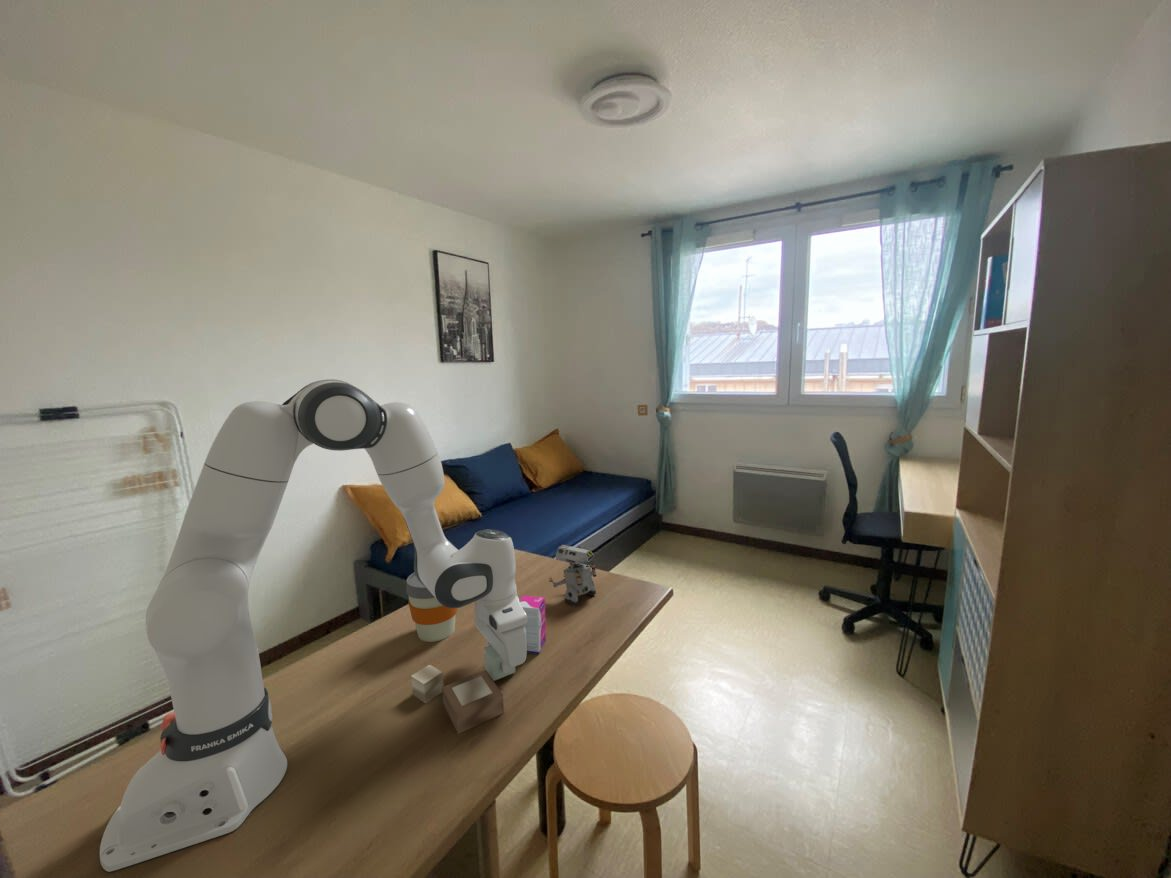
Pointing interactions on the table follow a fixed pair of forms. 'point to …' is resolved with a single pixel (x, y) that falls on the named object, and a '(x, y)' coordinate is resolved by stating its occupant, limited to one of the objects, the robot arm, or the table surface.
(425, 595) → the reusable coffee cup
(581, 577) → the figurine
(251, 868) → the table surface
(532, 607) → the supplement box
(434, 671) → the block
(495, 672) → the sage block
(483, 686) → the walnut base
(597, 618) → the table surface
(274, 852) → the table surface
